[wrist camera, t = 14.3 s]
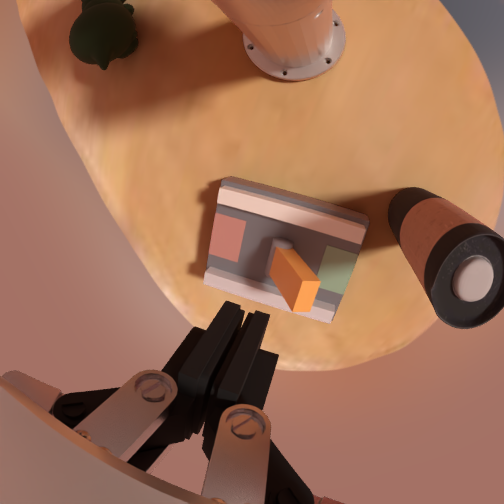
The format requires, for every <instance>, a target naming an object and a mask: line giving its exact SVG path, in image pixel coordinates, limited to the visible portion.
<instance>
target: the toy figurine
mask: <svg viewBox="0 0 504 504" xmlns="http://www.w3.org/2000/svg"><path fill="white" fill-rule="evenodd" d="M81 1H82V13H81V14H80V16H79V17H78V18H77V19H76V20H75V22H74V24H73V26H72V28H71V31H70V36H69V44H70V48H71V50H72V52H73V54H74V55H75V56H76V57H77V58H78V59H79V60H81V61H82V62H85V63H88V64H97V65H99V66H100V68H101V69H102V70H106V69H107V67H108V65H109V62H110V61H112V60H114V59H116V58H125V57H127V56H128V55H129V54H131V53H132V52H133V51H134V50H135V49H136V48H137V46H138V40H137V38H136V37H137V32H136V27H135V22H134V19H133V17H132V14H133V12H134V8H133V6H132V5H130V4H123V3H122V2H123V1H125V0H81Z"/></svg>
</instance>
